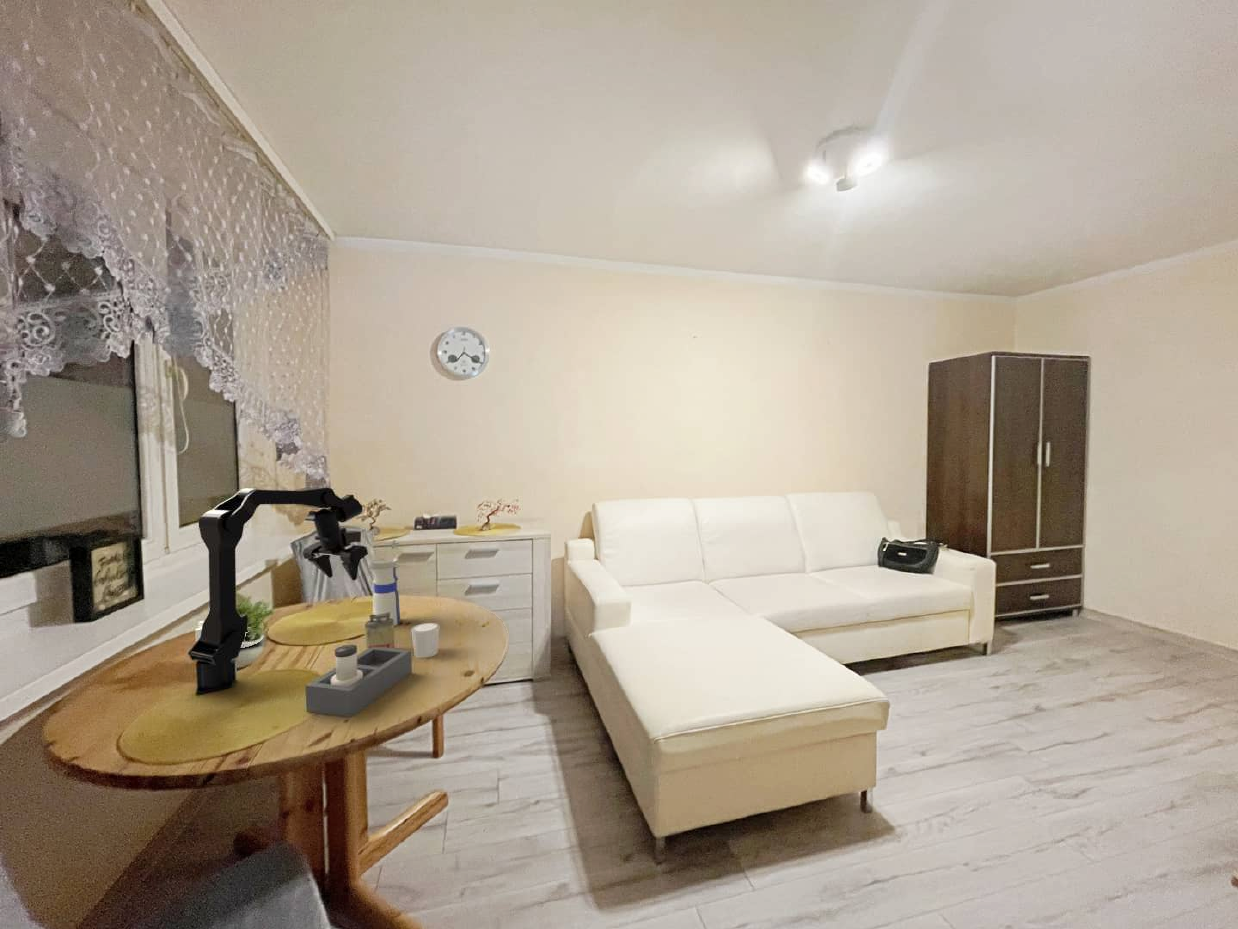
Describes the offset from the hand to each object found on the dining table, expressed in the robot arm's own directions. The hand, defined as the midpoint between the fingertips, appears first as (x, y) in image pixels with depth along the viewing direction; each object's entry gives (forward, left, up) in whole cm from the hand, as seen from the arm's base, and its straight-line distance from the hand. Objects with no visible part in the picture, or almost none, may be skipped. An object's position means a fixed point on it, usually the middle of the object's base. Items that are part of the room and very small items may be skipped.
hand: (342, 578), depth 146 cm
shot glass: (+17, -29, -16) cm, 37 cm away
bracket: (-27, +4, -16) cm, 32 cm away
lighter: (+7, -21, -16) cm, 27 cm away
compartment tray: (+1, -42, -15) cm, 45 cm away
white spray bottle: (+11, 0, -16) cm, 19 cm away
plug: (-2, -45, -13) cm, 47 cm away
